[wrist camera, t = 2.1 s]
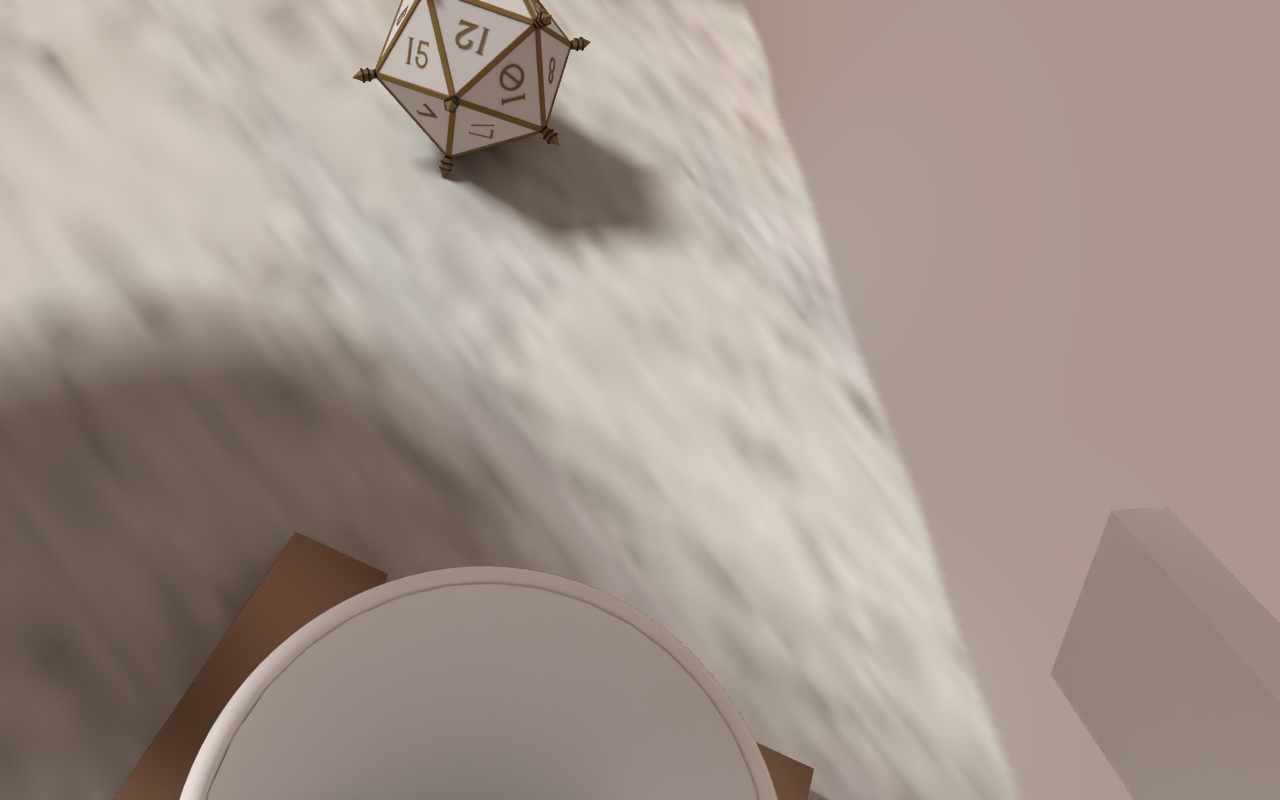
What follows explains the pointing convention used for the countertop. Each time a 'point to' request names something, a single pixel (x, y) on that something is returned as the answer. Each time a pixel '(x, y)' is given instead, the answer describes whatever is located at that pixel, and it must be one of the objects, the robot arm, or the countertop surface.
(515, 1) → the game die
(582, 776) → the coffee cup
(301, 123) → the countertop surface
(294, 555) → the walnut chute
